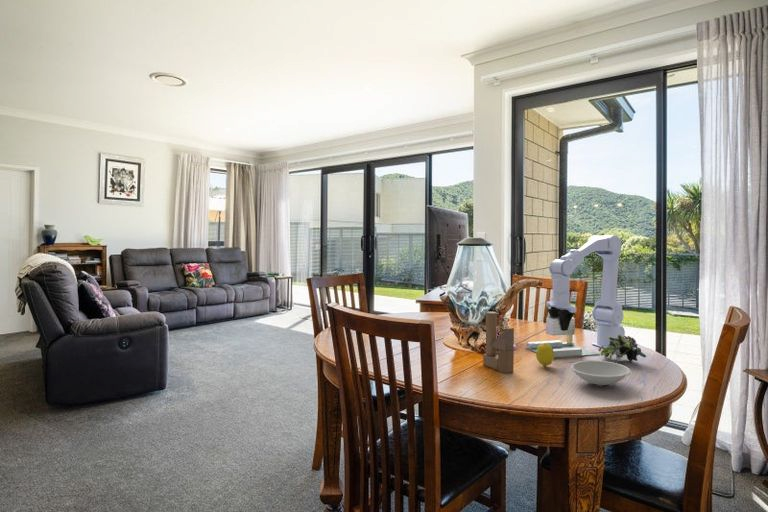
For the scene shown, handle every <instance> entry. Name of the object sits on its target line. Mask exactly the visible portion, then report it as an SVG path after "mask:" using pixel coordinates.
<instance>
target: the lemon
mask: <svg viewBox="0 0 768 512" xmlns="http://www.w3.org/2000/svg"><path fill="white" fill-rule="evenodd" d="M535 355H536V356H535V357H536V360H537V362H538V364H539V365H542V366H543V367H544V366H545V367H544V368H546V367H547V366H549V365H551V364H552V363H553V362H554V359H555V358H554V352H553V349H552V347H551V346H550V345H548V344H546V343H543V344H541V345H539V346H538V348H537V351H536V353H535Z"/></svg>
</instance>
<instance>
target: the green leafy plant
mask: <svg viewBox="0 0 768 512" xmlns="http://www.w3.org/2000/svg"><path fill="white" fill-rule="evenodd" d="M624 337H625V338H624ZM624 337H622V335H618V339H617V338H616V339H614V338H612V337H610V336H609V339H610V340H611V341H609V342H610V344H609V346H608V347H607V348H605V349H604V347H603V346H601V347H599V348H598V351H599V352H600V355H601V356H602V357H603V356H604V358H605V359H606V358H608V357H609V359H610V360H611V359H612V358H613V355H614V354H615V358H616V361H615V363H618V361H620V360H621V358H623V356H626V358H627V360H628V361H629V362H633V361H635V362H638V355H639V356H640V357H643V358H646V357H647V355H646V354H645V353H643V352H642V349H641V347H638V346H639V344H638V343H637V340H636V339H635V338H634V337H631V336H630V335H627V336H626V335H625V336H624ZM612 347H613V348H612ZM614 347H615V348H614ZM602 349H603V350H602Z"/></svg>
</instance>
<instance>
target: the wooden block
mask: <svg viewBox="0 0 768 512" xmlns="http://www.w3.org/2000/svg"><path fill="white" fill-rule="evenodd" d="M497 319H498V313H497V312H496V311H486V312H485V328H486V345H485V353H483V354H482V364H483V366H487V367H489V368H491V369H494V370H495V371H496V370H497V371H498V372H501V373H503V374H509V373H514V360H515V359H514V358H515V357H514V351H515V350H514V345H515V344H514V343H515V336H514V335H515V328H514V327H513V328H512V327H511V328H505V329H504V330H503V331H502V332H501V333H500V334H499V337H498V338H497V328H498V326H497V323H498V321H497Z"/></svg>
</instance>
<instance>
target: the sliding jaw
mask: <svg viewBox="0 0 768 512" xmlns="http://www.w3.org/2000/svg"><path fill="white" fill-rule="evenodd" d="M573 336H574V334H573V335H566V342H563V341H562V340H557V339H556V340H544V341H529V342H526V347H527V348H529V349H537V348H538V346H539V345H541V344H543V343H546V344H548V345H550V346H551V347H552V348H555V347H562V346H574V345H575V342H573V341H574V340H573V338H574V337H573Z"/></svg>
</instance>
